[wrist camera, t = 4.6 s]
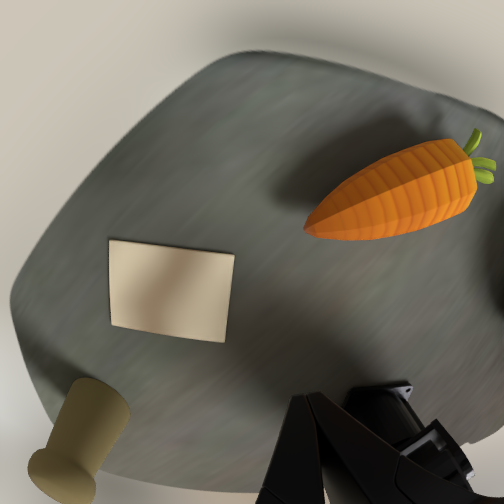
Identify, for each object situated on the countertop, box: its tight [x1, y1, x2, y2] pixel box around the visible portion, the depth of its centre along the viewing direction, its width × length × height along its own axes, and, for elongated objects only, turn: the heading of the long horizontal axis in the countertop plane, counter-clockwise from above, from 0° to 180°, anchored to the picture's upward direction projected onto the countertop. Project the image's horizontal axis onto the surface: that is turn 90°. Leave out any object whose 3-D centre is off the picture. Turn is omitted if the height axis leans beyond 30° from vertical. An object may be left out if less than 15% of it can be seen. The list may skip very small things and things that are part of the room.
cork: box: [28, 378, 131, 504], centre depth 15 cm, size 6×6×11 cm
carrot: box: [303, 128, 496, 240], centre depth 15 cm, size 5×5×15 cm
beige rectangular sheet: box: [109, 240, 235, 343], centre depth 18 cm, size 8×6×1 cm
